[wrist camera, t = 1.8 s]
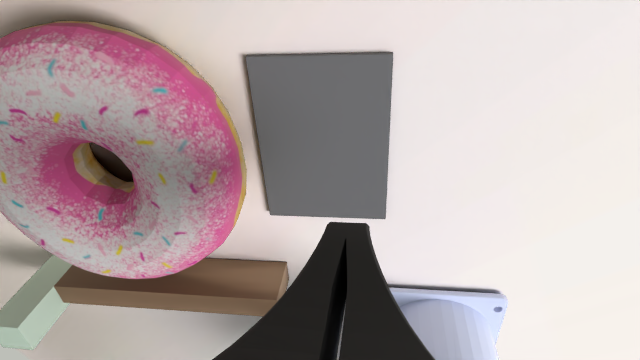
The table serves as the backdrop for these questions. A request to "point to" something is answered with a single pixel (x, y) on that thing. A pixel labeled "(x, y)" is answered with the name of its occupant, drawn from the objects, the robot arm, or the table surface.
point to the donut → (114, 150)
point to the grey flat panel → (323, 132)
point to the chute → (140, 293)
